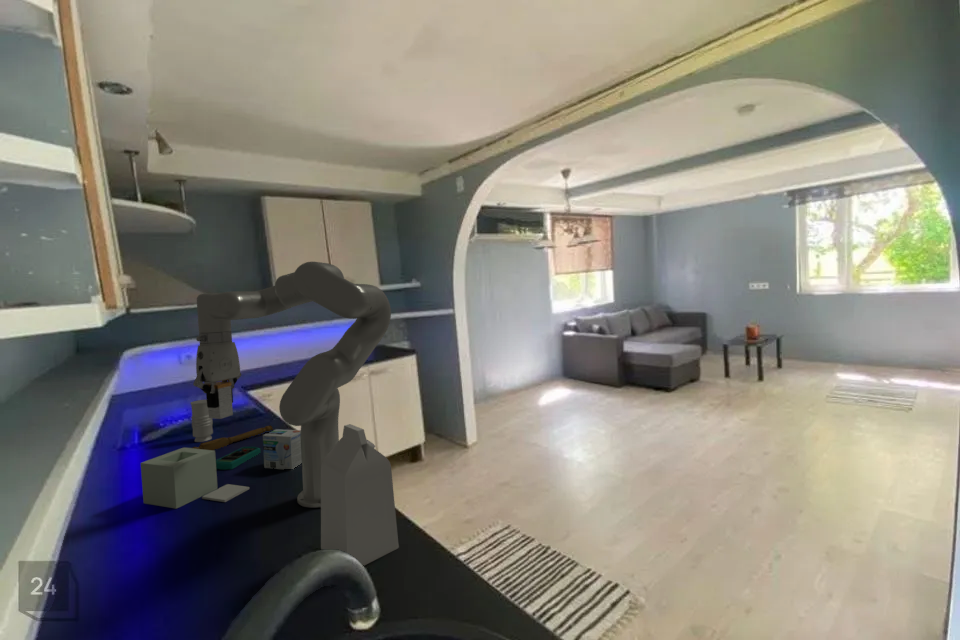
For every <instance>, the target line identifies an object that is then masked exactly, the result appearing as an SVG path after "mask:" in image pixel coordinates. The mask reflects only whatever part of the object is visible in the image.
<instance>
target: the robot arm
mask: <svg viewBox="0 0 960 640" xmlns="http://www.w3.org/2000/svg"><path fill="white" fill-rule="evenodd" d="M310 302H315V303H316V304H318V305H319V306H321V307H323V308H325V309H326V310H328V311H330V312H332V313H334V314H336V315H338V316H340V317H342V318H344V319H350V320H354V319H355V321H354V322H353V323H352V324H351V325H350V326H349V327H348V328H347V329H346V331H345V332H344V333H343V335H342V336H341V338H340V339H339V340H338V342H337V343H336V344H335V345H334V346H333V348H331V349H329V350H326V351H323V352H320V353H318V354H315V355H314V356H312V357H311V358H310V359H309V360H307V362H305V363H304V365H303V366H302V368H301V369H300V370H299V372H298V373H297V374H296V376H295V377H294V379H293V380H292V381H291V383H290V385H289V386H288V387H287V389H286V390H285V391H284V393H283V394H282V396H281V398H280V402H279V408H278V409H279V414H280V417H281V418H282V420H283V421H284V422H285V423H287V424H288V425H290V426H294V427H300V430H301V431H300V438H301V458H302V465H301V473H302V489H303V490H302V491H301V492H300V493H298V495H297V498H296V499H297V500H296V502H297V504H298V505H300V506H302V507H303V508H313V509H315V508H321V465H322V462H323V460H324V458H325V457H326V456H327V454H328V453H329V452H330V451H331V450H332V449H333V447H334V446H335V445H336V444H337V443H338V441H339V440H340V439H339V437H340V436H339V435H340V434H339V433H340V431H339V416H340V415H339V414H340V406H341V405H340V404H341V396H340V391H339V388H340V387H343V386H344V385H347V384H348V383H350V382H351V381H352V380H354V378H355V376H356V375H357V374H358V373H359V371H360V369H361V368H362V367H363V366H364V364H365V363H366V361H367V360H368V359H369V358H370V355H372V353H373V351H374V350H375V348H376V347H377V346H378V344H379V343H380V342H381V340H382V339H383V337H384V336H385V334H386V332H387V331H388V328H389V325H390V323H391V317H392V309H391V304H390V301H389V299H388V297H387V295H386V294H385V292H384V291H383V290H382V289H381V288H380V287H378V286H376V285H372V284H366V283H353V282H351V281H349V279H348V280H347V279H345V276H344V274H343V272H342V271H341V269H340V268H339V267H337V266H336V265H334V264H331V263H327V262H320V261H307V262H306V261H305V262H303V263H302V264H301V265H299V266H298V267H297V268H296V269H295V270H294V272H290V273H287V274H283V275H280V276H278V278H277V279H276V280H275V283H274V285H273V286H270V287H266V288H264V289H259V290H255V291H251V290H249V291H247V290H246V291H244V290H243V291H241V290H240V291H237V290H236V291H235V290H234V291H233V290H232V291H225V292H210V293H209V292H208V293H200V294H198V295H197V297H196V309H197V310H196V311H197V323H198V336H196V339H195V340H196V342H199V344H198V345H197V350H196V359H195V360H196V361H195V365H196V366H195V370H196V372H195V373H196V377H195V380H194V381H193V384H192V385H193V387H196V388H198V389H200V390H201V391H202V392H203V394H205V397H206V399H207V407H208V408H217V407H218V398H217V393H215V388H216V382H231V385H232V386H231V393H232V404H233V403H234V396H233V389H234V388H235V384H236V383H237V381H238V380H239V379H240V378H241V377H242V373H241V367H240V366H241V365H240V357H239V352H238V348H237V345H236V343H235V341H233V338H232V337H233V336H232V324H231V323H232V322H231V321H236V320H248V319H257V318H258V319H259V318H262V317H266V316H270V315H273V314H274V315H275V314H277V313H280V312H284V311H287V310H288V309H291V308H294V307H297V306H301V305H303V304H307V303H310ZM209 385H210V387H209Z"/></svg>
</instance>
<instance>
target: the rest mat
mask: <svg viewBox="0 0 960 640" xmlns="http://www.w3.org/2000/svg"><path fill="white" fill-rule="evenodd" d="M248 490H250V486H244V485H237V484H229V483H226V484H224V485H223V486H221V487H219V488H218V489H216V490H214V491H212V492H210V493H208V494H205V495H203V496H201V499H202V500H208V501H209V500H210V501H215V502H222V503H226V502H228V501H231V500H232V499H234V498H235V497H238V496H239V495H241V494H244V493H245V492H247V491H248Z"/></svg>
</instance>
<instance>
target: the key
mask: <svg viewBox="0 0 960 640" xmlns="http://www.w3.org/2000/svg"><path fill="white" fill-rule="evenodd" d="M231 386H232V385H231V382H228V381H227V382H222V381H218V382H216V388H215V393H217V398H218V407H217V408H208V412H209V418H212V419H216V420H222V419H224V418H228V417H230V416H233V415H234V413H233V403H232V393H233V392H232V393H231ZM209 387H210V385H209Z"/></svg>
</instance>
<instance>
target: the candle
mask: <svg viewBox="0 0 960 640" xmlns="http://www.w3.org/2000/svg"><path fill="white" fill-rule="evenodd" d="M189 404H190V405H191V416H190V419H191V420H190V421H191V428H192V437H193V438H194V443H204V442H208V441H211V440H212V439H213V436H212V435H213V434H214V429H213V424H214V423H213V421H214V420H213V419H214V418H209V412H208V407H207V398H206V399H198V400H194V401H190V403H189Z"/></svg>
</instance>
